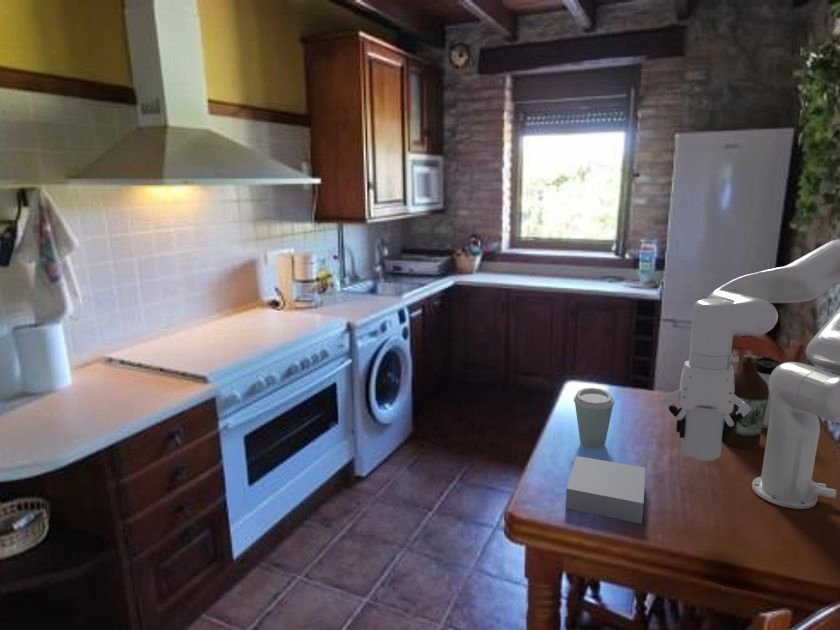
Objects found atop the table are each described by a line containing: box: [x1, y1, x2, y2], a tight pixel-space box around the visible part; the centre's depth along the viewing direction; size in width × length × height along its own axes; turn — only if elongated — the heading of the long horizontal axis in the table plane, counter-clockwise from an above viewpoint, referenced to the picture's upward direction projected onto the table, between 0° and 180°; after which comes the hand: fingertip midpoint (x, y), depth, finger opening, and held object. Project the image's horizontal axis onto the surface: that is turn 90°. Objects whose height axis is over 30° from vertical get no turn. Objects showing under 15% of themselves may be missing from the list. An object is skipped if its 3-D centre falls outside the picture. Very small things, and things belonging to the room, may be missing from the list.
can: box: [681, 406, 724, 462], centre depth 117 cm, size 8×8×12 cm
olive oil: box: [724, 354, 769, 450], centre depth 151 cm, size 11×11×25 cm
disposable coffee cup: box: [573, 387, 615, 450], centre depth 152 cm, size 11×11×15 cm
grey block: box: [565, 455, 646, 525], centre depth 128 cm, size 16×16×5 cm
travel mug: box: [756, 356, 781, 429], centre depth 162 cm, size 6×7×20 cm
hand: (702, 437), depth 117 cm, fingers closed on can, 7 cm apart
